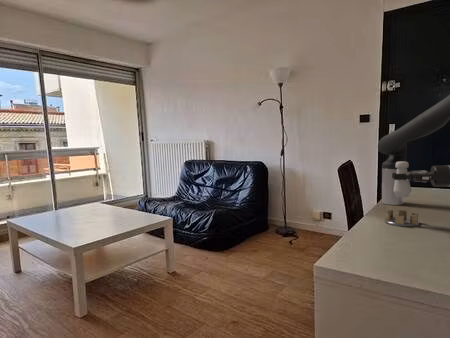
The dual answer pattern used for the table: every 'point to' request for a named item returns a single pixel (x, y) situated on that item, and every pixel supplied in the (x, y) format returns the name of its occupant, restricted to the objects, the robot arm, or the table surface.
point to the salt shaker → (402, 181)
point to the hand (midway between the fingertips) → (393, 176)
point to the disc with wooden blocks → (401, 219)
